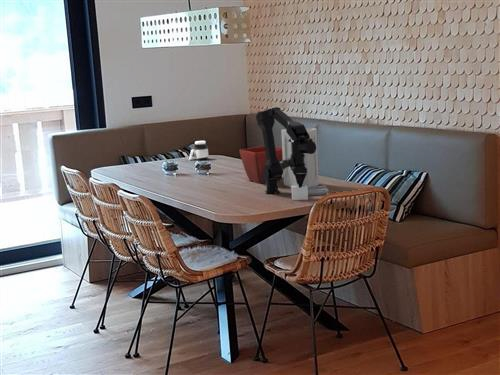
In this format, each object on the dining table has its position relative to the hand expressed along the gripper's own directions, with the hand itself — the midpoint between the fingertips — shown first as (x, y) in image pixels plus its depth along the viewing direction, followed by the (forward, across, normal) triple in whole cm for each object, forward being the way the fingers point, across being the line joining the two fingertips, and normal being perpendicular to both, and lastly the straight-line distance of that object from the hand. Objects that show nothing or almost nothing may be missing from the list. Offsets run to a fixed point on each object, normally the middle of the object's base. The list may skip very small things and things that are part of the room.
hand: (299, 185), depth 355 cm
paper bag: (+6, -31, +6) cm, 33 cm away
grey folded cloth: (+6, -10, +7) cm, 14 cm away
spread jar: (+7, -142, -51) cm, 152 cm away
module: (+6, 0, 0) cm, 6 cm away
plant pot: (+6, -52, -13) cm, 54 cm away
